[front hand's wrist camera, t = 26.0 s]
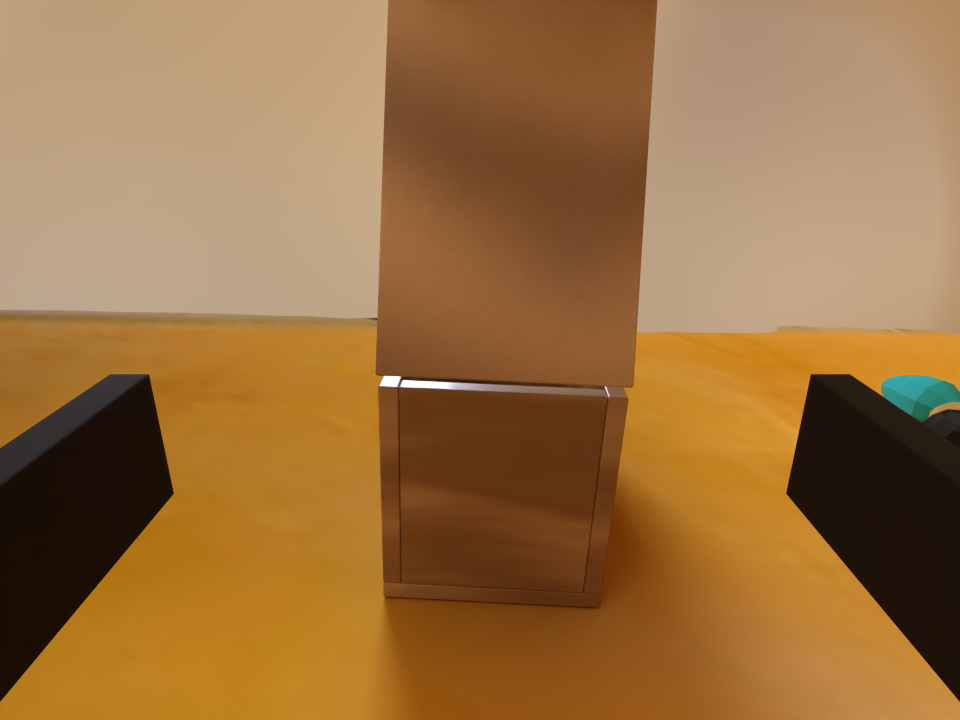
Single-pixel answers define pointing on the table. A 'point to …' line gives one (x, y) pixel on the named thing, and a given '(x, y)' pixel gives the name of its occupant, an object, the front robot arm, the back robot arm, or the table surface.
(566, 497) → the chest
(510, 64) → the lid
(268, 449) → the table surface
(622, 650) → the table surface
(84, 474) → the front robot arm
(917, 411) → the toy gun
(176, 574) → the table surface
